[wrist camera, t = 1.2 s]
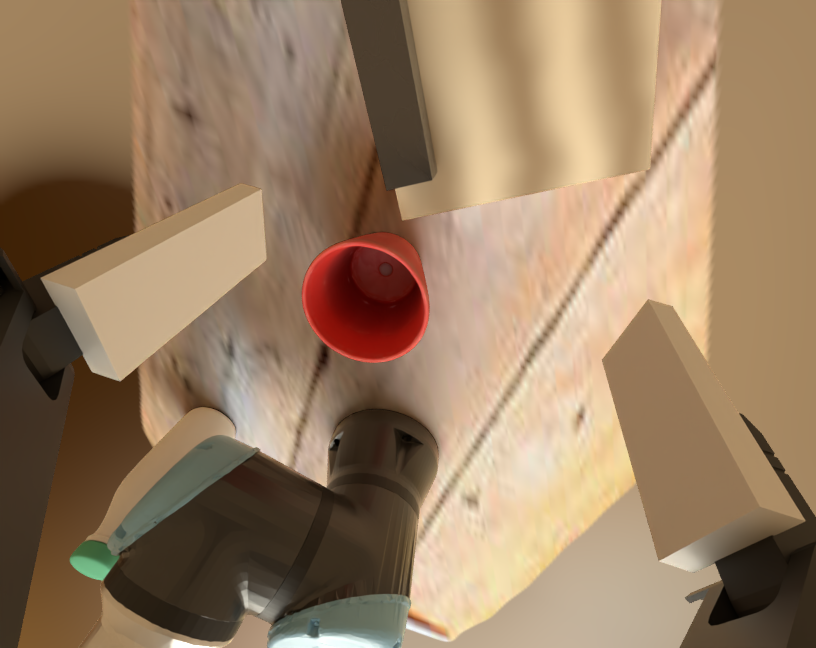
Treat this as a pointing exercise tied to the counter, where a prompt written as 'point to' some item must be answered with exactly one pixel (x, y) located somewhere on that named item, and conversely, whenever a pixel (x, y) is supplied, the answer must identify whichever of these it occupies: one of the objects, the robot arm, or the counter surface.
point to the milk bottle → (147, 484)
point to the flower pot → (367, 297)
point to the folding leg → (392, 89)
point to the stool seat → (532, 96)
